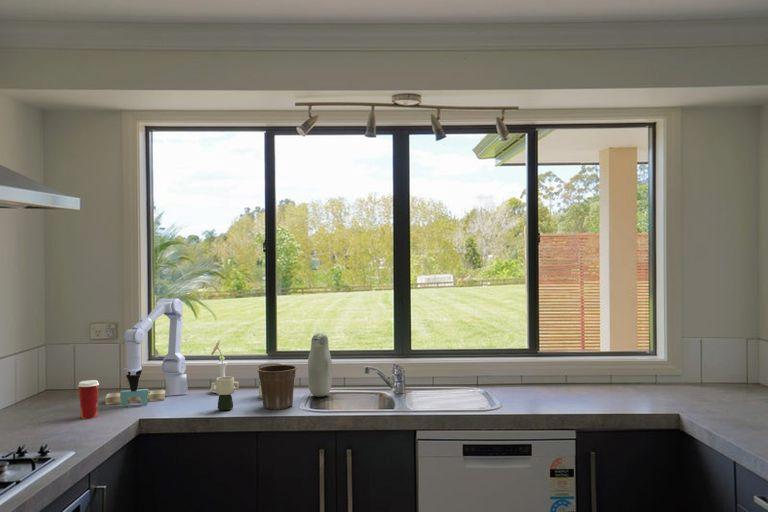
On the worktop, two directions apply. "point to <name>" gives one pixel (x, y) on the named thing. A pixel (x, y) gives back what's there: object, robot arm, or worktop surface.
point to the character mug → (225, 391)
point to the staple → (137, 393)
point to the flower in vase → (220, 364)
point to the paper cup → (88, 398)
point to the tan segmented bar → (152, 396)
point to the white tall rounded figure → (319, 366)
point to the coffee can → (259, 379)
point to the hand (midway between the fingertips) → (134, 389)
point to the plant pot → (277, 385)
